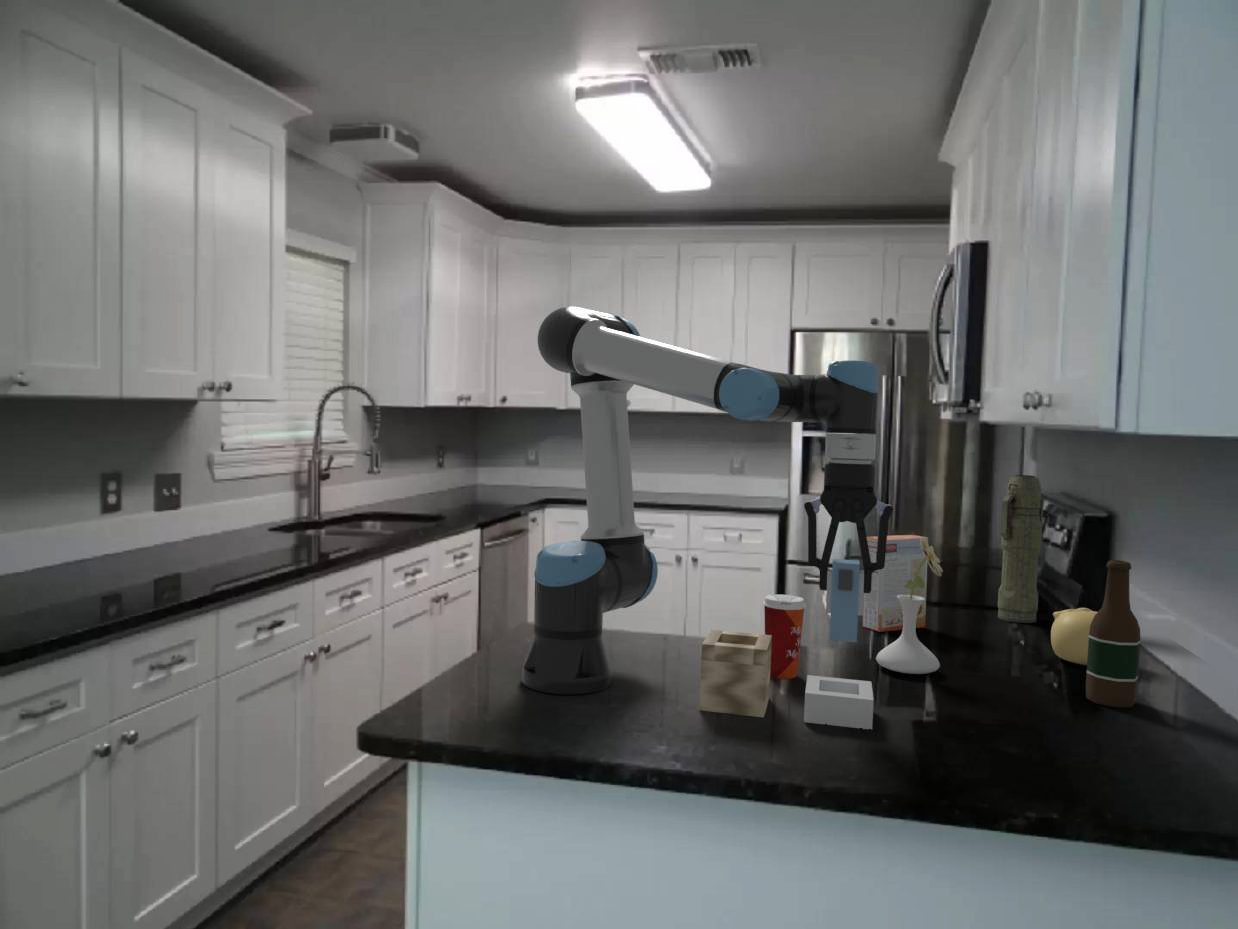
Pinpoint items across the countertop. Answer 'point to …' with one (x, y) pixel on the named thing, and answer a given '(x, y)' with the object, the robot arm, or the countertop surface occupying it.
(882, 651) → the flower in vase
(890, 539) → the cracker box
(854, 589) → the plug
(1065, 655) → the sculpture
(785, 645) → the paper cup
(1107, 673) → the beer bottle
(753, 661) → the block
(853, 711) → the block
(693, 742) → the countertop surface
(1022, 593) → the thermos
